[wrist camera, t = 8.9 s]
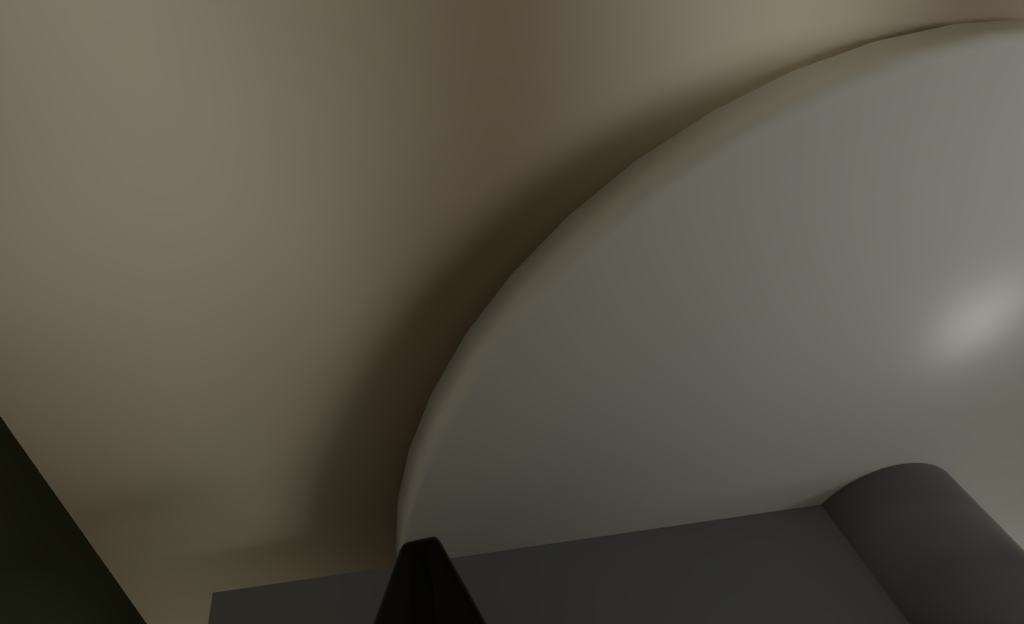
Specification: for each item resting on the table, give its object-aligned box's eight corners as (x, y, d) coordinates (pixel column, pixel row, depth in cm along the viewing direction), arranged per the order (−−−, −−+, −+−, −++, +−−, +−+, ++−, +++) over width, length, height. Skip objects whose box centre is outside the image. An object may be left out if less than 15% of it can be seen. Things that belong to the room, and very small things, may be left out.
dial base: (1767, -501, 9) (2021, -562, 8) (1112, 613, 23) (1162, 662, 21) (-324, -237, 7) (-493, -257, 5) (346, 842, 20) (348, 915, 19)
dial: (1488, 22, 11) (2013, 105, 7) (1020, 664, 19) (1164, 835, 16) (90, 10, 7) (-128, 172, 3) (291, 816, 15) (281, 1082, 12)
